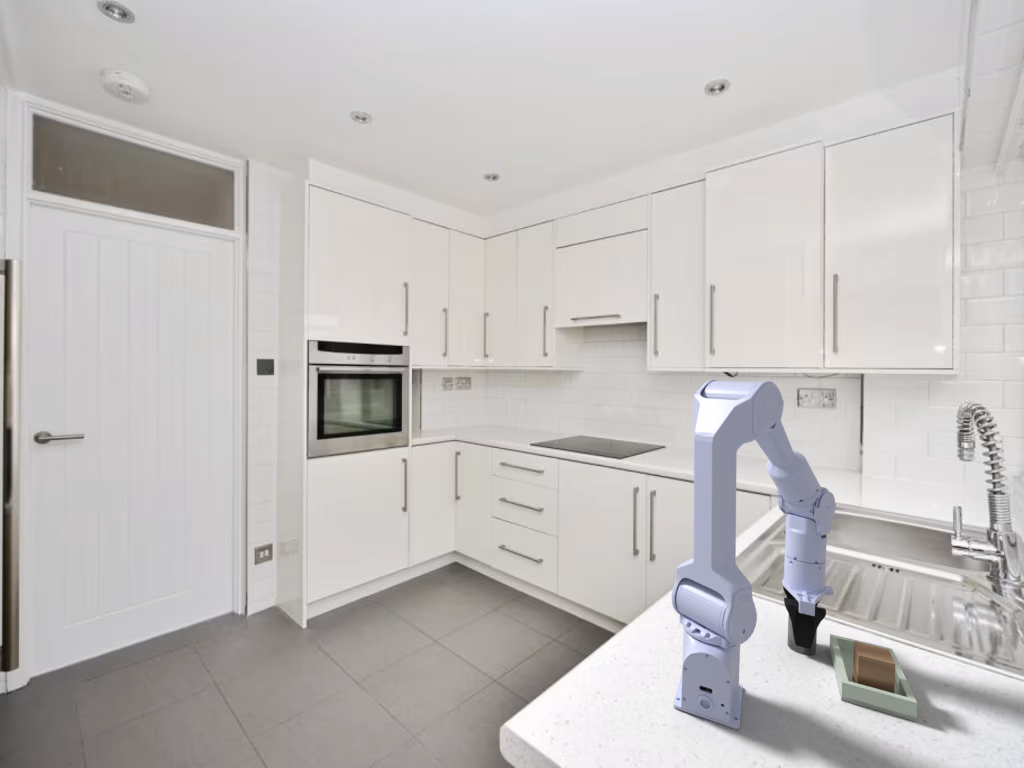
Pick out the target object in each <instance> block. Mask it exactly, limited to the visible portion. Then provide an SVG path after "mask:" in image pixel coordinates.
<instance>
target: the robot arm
mask: <svg viewBox="0 0 1024 768" xmlns="http://www.w3.org/2000/svg"><path fill="white" fill-rule="evenodd" d="M782 395H783V394H782V392H781V391H780V389H779V386H777V385H776V383H774V382H773V381H770V380H763V381H734V380H733V381H732V380H729V381H728V380H717V379H709V380H707V381H705V382H704V383H703V384H702V385H701V386H700V387H699V389H698V390H697V391H696V392H695V393H694V395H693V432H694V434H693V435H694V437H693V553H692V554H693V557H692V558H690V559H687V560H686V561H683V562H682V563H681V564H680V565H678V566H677V567H676V568H675V569H676V571H675V573H676V574H675V580H674V584H673V586H672V591H671V604H672V608H673V610H674V611H675V612H676V613H677V614H678V615H679V623H680V624H681V625H682V626H683V640H682V641H683V642H682V643H683V645H682V666H681V675H680V679H679V682H678V685H677V689H676V692H675V695H674V699H673V702H672V706H673V708H674V709H676V710H679V711H682V712H685V713H688V714H691V715H694V716H696V717H699V718H703V719H705V720H708V721H711V722H714V723H717V724H720V725H723V726H726V727H728V728H732V729H734V730H739V729H740V727H741V726H740V725H741V715H742V714H741V713H742V703H743V689H744V686H743V684H742V683H740V664H741V663H740V662H741V658H740V657H741V645H742V644H744V643H746V642H747V641H748V640H749V639H750V638H751V637H752V635H753V633H754V632H755V630H756V625H757V620H758V619H757V618H758V613H757V608H756V604H755V602H754V599H753V598H754V597H753V586H752V583H751V582H750V581H749V580H748V578H747V577H746V575H744V573H743V571H742V570H741V569H740V568H739V566H737V564H736V559H737V558H736V553H737V552H736V550H737V546H736V545H737V544H736V543H737V540H736V539H737V535H736V534H737V456H738V455H737V453H738V450H739V449H740V448H741V447H742V446H743V445H744V444H749V443H752V442H754V441H755V442H756V444H758V446H759V447H760V448H761V450H762V451H763V453H764V454H765V456H766V457H767V459H768V460H767V462H766V471H767V473H768V475H769V477H770V478H771V480H772V481H773V482H772V483H774V485H775V486H776V489H777V490H776V492H777V493H776V494H777V498H778V499H777V500H778V501H777V502H778V508H779V509H778V510H780V511H781V512H782V513H783V514H784V515H785V533H784V534H785V535H784V536H785V538H784V539H785V540H784V562H783V563H784V565H783V567H784V568H783V578H782V580H781V581H782V582H781V583H782V590H783V592H784V594H785V596H786V597H783V604H784V607H785V610H786V611H787V613H788V615H789V616H790V619H791V623H792V629H793V636H794V641H795V645H796V646H800V647H804V648H808V649H811V647H812V644H813V641H814V637H815V633H816V630H817V631H818V628H819V626H820V625H821V623H822V621H823V620H824V619H825V618H826V615H827V610H826V608H824V607H820V606H818V605H819V603H820V601H821V600H822V599H823V598H824V597H825V596H834V595H835V590H834V588H833V587H831V586H829V585H826V569H827V568H826V567H827V542H828V541H827V540H828V538H827V537H828V534H831V530H832V522H833V518H834V515H835V514H836V509H837V503H836V498H835V495H834V494H833V493H832V492H831V491H830V490H829V489H828V488H827V487H825V486H821V484H820V482H819V481H818V479H817V477H816V475H815V474H814V471H813V469H812V467H811V466H810V463H809V462H808V460H807V458H806V456H805V455H804V454H803V453H801V452H799V451H795V450H794V449H793V448H792V445H791V443H790V440H789V437H788V435H787V433H786V430H785V428H784V425H783V423H782V418H783V417H782V416H783V413H784V404H785V403H784V399H783V396H782Z"/></svg>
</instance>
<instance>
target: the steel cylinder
mask: <svg viewBox="0 0 1024 768" xmlns="http://www.w3.org/2000/svg"><path fill="white" fill-rule="evenodd" d="M787 618H788V623H787V646H788V647H789V649H790V650H792V651H794V652H796V653H798V654H800V655H804V656H806V655H807V656H814V655H816V653H817V635H818V629H817V630H816V633H815V637H814V641H813V644H812V647H811V649H808V648H804V647H800V646H796V645H795V641H794V636H793V629H792V623H791V619H790V616H789V614H788V617H787Z"/></svg>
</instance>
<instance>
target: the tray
mask: <svg viewBox="0 0 1024 768" xmlns="http://www.w3.org/2000/svg"><path fill="white" fill-rule="evenodd" d="M854 641H856V642H860V643H864V644H868V645H872V646H876V647H881V648H885V649H889V651H890V654H891V656H892V658H893V660H894V662H895V688H894V693H890V692H887V691H883V690H880V689H876V688H872V687H869V686H865V685H861V684H858V683H854V682H853V652H854ZM829 653H830V657H831V661H832V665H833V670H834V674H835V679H836V683H837V687H838V690H839V691H838V692H839V696H840V700H841V701H843V702H846V703H850V704H854V705H856V706H860V707H864V708H866V709H870V710H874V711H876V712H881V713H884V714H887V715H891V716H894V717H898V718H901V719H904V720H907V721H911V722H914V723H917V720H918V702H917V699H916V697H915V695H914V692H913V691H912V688H911V686H910V684H909V682H908V680H907V678H906V675H905V674H904V672H903V669H902V667H901V665H900V663H899V660H898V659H897V657H896V654H895V652H894V650H893V648H890V647H886V646H882V645H878V644H874V643H869V642H865V641H861V640H857V639H853V638H848V637H844V636H841V635H835V634H833V633H832V634H831V633H830V634H829Z"/></svg>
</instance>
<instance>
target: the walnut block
mask: <svg viewBox="0 0 1024 768" xmlns="http://www.w3.org/2000/svg"><path fill="white" fill-rule="evenodd" d="M853 682H854V683H858V684H861V685H865V686H869V687H872V688H876V689H880V690H883V691H887V692H890V693H894V688H895V662H894V660H893V658H892V656H891V654H890V651H889V649H885V648H881V647H876V646H872V645H868V644H864V643H860V642H856V641H854V652H853Z"/></svg>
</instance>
